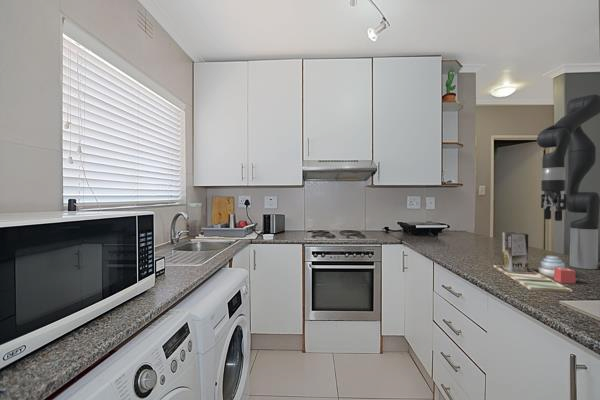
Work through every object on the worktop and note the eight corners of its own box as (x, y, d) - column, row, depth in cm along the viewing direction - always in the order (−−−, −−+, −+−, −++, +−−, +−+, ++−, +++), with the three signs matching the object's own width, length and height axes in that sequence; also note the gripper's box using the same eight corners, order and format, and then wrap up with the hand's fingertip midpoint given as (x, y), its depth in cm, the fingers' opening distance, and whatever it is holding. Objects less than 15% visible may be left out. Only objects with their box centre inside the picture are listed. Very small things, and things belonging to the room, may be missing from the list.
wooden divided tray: (493, 266, 142) (493, 265, 142) (524, 268, 139) (524, 266, 139) (529, 289, 108) (529, 287, 108) (572, 292, 105) (572, 289, 105)
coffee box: (528, 273, 130) (529, 234, 130) (511, 273, 131) (511, 233, 131) (518, 268, 139) (518, 231, 139) (501, 268, 140) (502, 231, 140)
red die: (554, 279, 121) (554, 267, 121) (568, 280, 120) (568, 268, 120) (560, 282, 117) (560, 270, 117) (575, 283, 115) (575, 270, 115)
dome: (536, 265, 133) (537, 254, 133) (558, 266, 131) (558, 255, 131) (546, 269, 126) (546, 257, 126) (568, 270, 124) (568, 258, 124)
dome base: (534, 271, 134) (534, 265, 134) (559, 272, 132) (559, 266, 132) (544, 276, 125) (544, 270, 125) (571, 277, 123) (571, 271, 123)
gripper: (574, 178, 120) (574, 221, 120) (554, 180, 134) (554, 218, 134) (551, 178, 122) (551, 221, 122) (534, 180, 136) (533, 218, 136)
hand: (552, 219), depth 128 cm, fingers open, 8 cm apart
